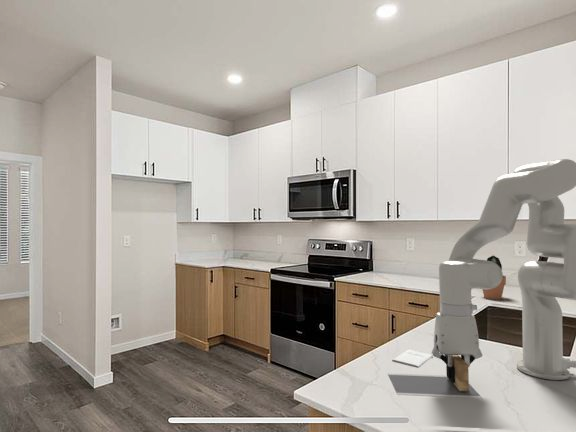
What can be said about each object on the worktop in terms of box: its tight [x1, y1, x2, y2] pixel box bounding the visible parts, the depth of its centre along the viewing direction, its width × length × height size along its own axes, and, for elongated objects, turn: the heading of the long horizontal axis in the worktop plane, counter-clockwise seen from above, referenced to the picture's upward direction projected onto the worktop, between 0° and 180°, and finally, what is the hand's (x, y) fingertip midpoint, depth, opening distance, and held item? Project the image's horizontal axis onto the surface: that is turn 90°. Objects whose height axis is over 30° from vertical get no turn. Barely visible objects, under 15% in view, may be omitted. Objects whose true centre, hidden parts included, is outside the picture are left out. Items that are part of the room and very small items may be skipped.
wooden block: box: [453, 355, 470, 391], centre depth 96 cm, size 2×9×6 cm, turn 175°
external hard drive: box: [391, 349, 434, 368], centre depth 115 cm, size 2×8×12 cm
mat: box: [387, 372, 483, 399], centre depth 96 cm, size 20×13×1 cm, turn 85°
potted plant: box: [481, 255, 507, 301], centre depth 216 cm, size 14×14×25 cm
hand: (457, 380), depth 96 cm, fingers closed on wooden block, 2 cm apart
